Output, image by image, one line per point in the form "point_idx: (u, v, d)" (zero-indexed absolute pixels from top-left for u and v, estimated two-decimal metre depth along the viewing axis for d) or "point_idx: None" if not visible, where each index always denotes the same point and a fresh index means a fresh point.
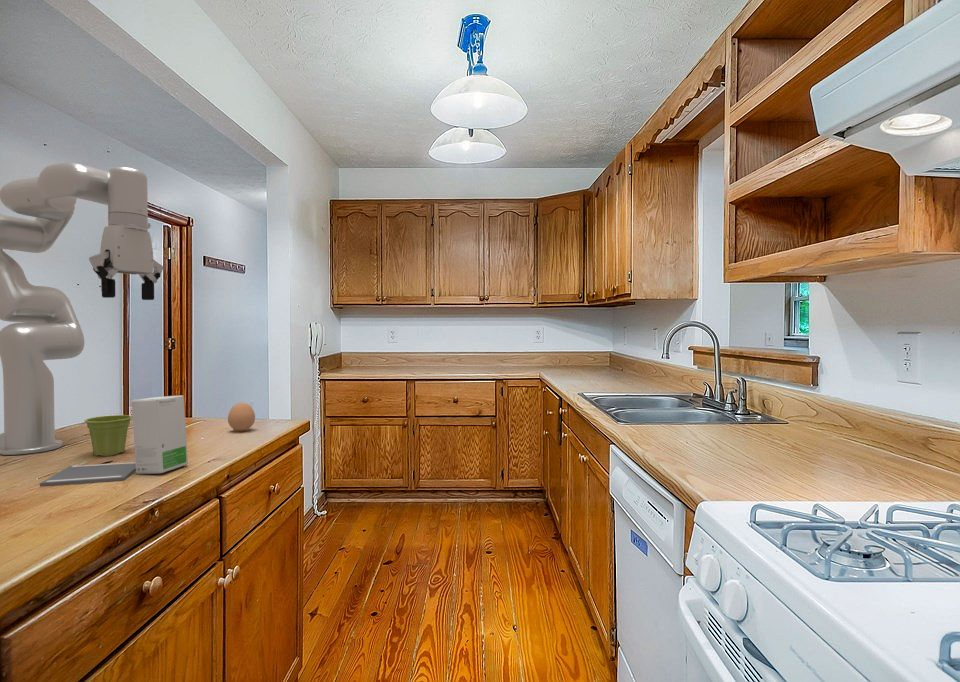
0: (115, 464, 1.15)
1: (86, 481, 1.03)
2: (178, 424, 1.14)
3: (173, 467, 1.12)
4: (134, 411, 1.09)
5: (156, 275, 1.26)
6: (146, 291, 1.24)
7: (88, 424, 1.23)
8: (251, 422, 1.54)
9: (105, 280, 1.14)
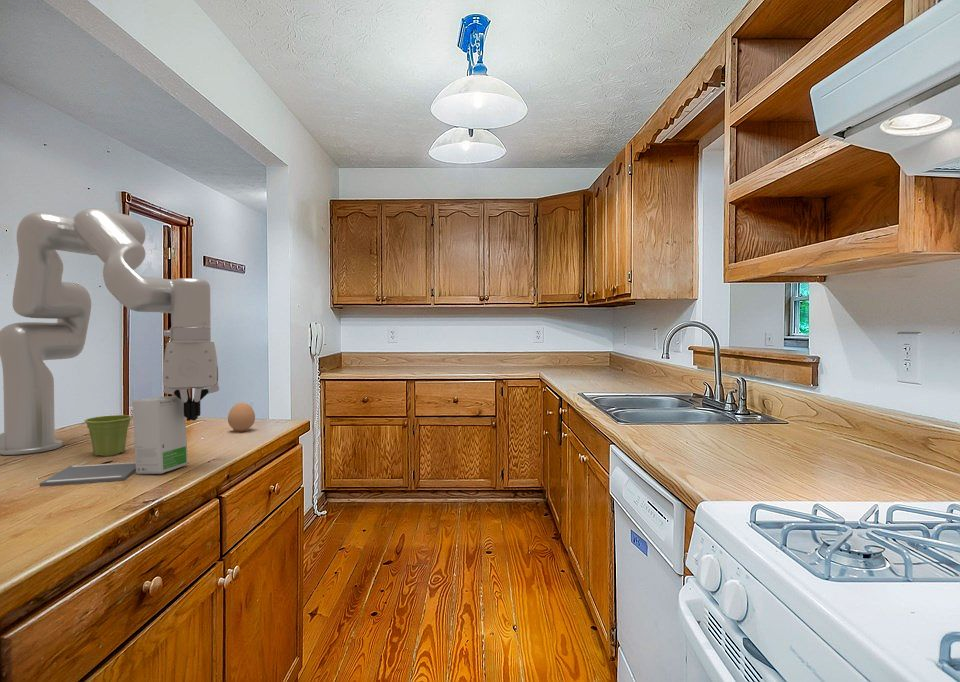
0: (115, 464, 1.15)
1: (86, 481, 1.03)
2: (179, 424, 1.14)
3: (173, 467, 1.12)
4: (135, 411, 1.09)
5: None
6: None
7: (88, 424, 1.23)
8: (251, 422, 1.54)
9: (199, 402, 1.15)
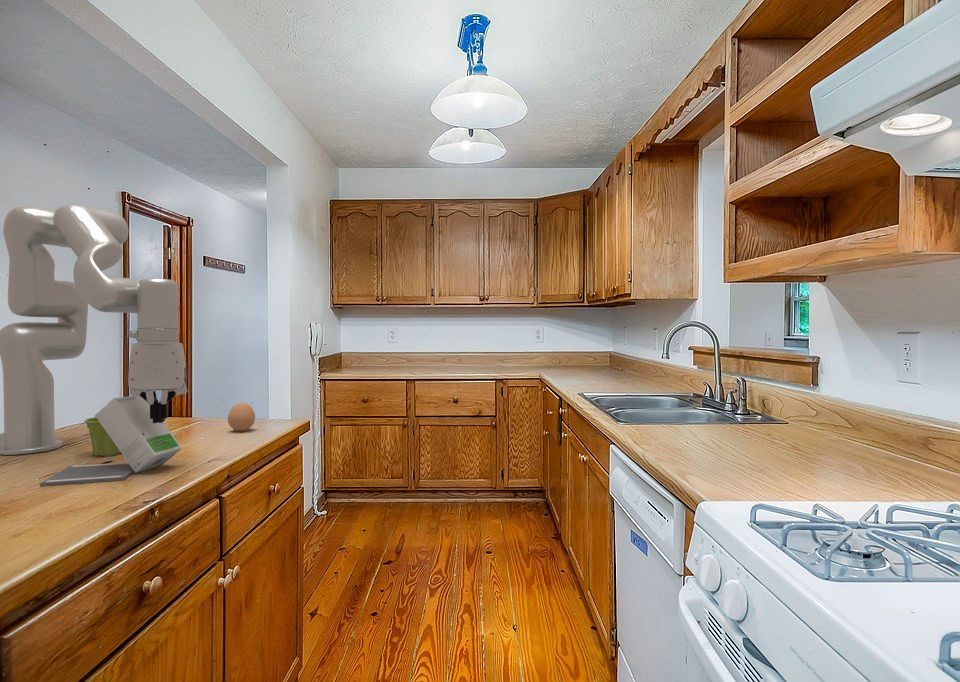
0: (115, 464, 1.15)
1: (86, 481, 1.03)
2: None
3: (166, 450, 1.12)
4: (102, 422, 1.11)
5: None
6: None
7: (88, 424, 1.23)
8: (251, 422, 1.54)
9: (167, 404, 1.13)
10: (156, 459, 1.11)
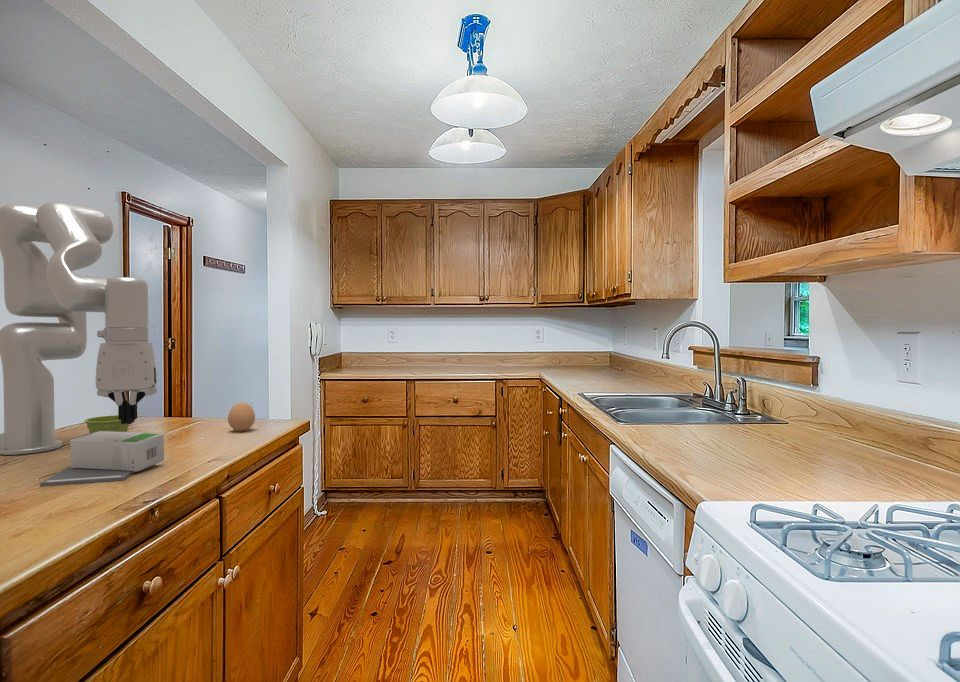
0: None
1: (86, 481, 1.03)
2: (117, 433, 1.15)
3: (147, 438, 1.12)
4: (80, 465, 1.11)
5: None
6: None
7: (88, 424, 1.23)
8: (251, 422, 1.54)
9: (136, 405, 1.11)
10: (144, 449, 1.11)
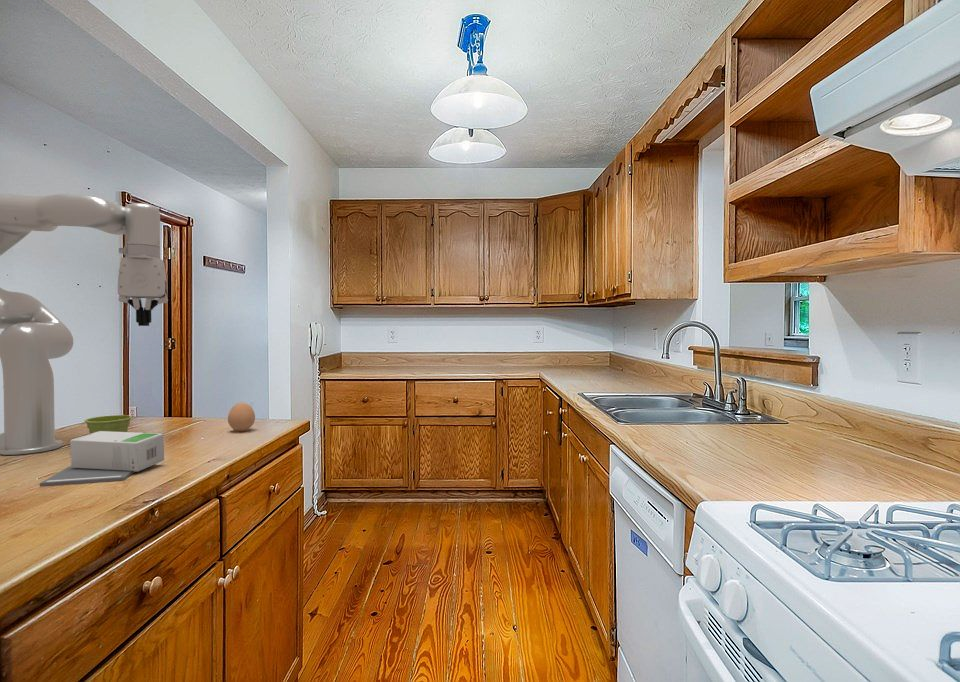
0: None
1: (86, 481, 1.03)
2: (117, 433, 1.15)
3: (147, 438, 1.12)
4: (80, 465, 1.11)
5: None
6: None
7: (88, 424, 1.23)
8: (251, 422, 1.54)
9: (150, 311, 1.34)
10: (144, 449, 1.11)
